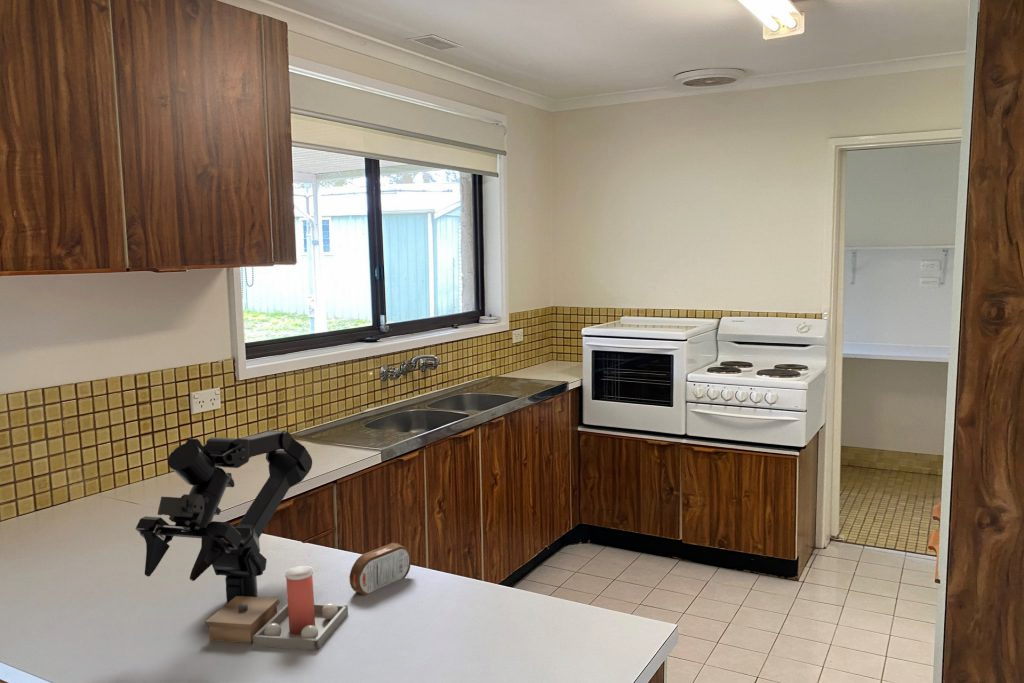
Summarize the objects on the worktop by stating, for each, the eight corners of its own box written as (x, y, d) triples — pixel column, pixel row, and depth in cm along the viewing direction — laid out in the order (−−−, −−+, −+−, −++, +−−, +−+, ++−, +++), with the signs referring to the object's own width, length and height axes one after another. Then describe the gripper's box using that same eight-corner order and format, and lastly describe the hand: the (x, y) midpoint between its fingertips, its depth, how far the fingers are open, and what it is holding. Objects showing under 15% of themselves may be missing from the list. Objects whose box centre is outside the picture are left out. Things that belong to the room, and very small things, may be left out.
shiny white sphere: (269, 635, 144) (268, 619, 143) (285, 636, 143) (283, 620, 143) (261, 643, 141) (260, 627, 140) (277, 644, 140) (276, 628, 140)
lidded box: (237, 617, 153) (236, 591, 152) (280, 620, 151) (278, 593, 151) (206, 645, 142) (204, 616, 142) (252, 648, 141) (250, 619, 140)
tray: (289, 614, 154) (288, 602, 154) (348, 617, 152) (347, 605, 151) (253, 650, 140) (252, 636, 140) (317, 654, 138) (316, 640, 138)
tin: (404, 574, 172) (402, 536, 171) (414, 578, 170) (412, 540, 169) (349, 599, 160) (347, 558, 159) (359, 603, 158) (357, 562, 157)
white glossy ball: (305, 637, 142) (304, 621, 142) (321, 638, 142) (320, 622, 142) (298, 645, 140) (297, 629, 139) (314, 646, 139) (313, 630, 139)
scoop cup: (301, 620, 149) (298, 564, 148) (321, 625, 147) (318, 568, 146) (282, 632, 145) (279, 574, 144) (303, 637, 143) (300, 578, 141)
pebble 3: (326, 615, 151) (325, 599, 151) (341, 615, 151) (340, 600, 150) (319, 622, 148) (318, 606, 148) (334, 623, 148) (333, 607, 147)
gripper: (138, 473, 145) (97, 554, 135) (227, 478, 140) (191, 562, 130) (170, 502, 153) (134, 580, 144) (256, 508, 148) (223, 589, 139)
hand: (169, 577), depth 139 cm, fingers open, 9 cm apart
